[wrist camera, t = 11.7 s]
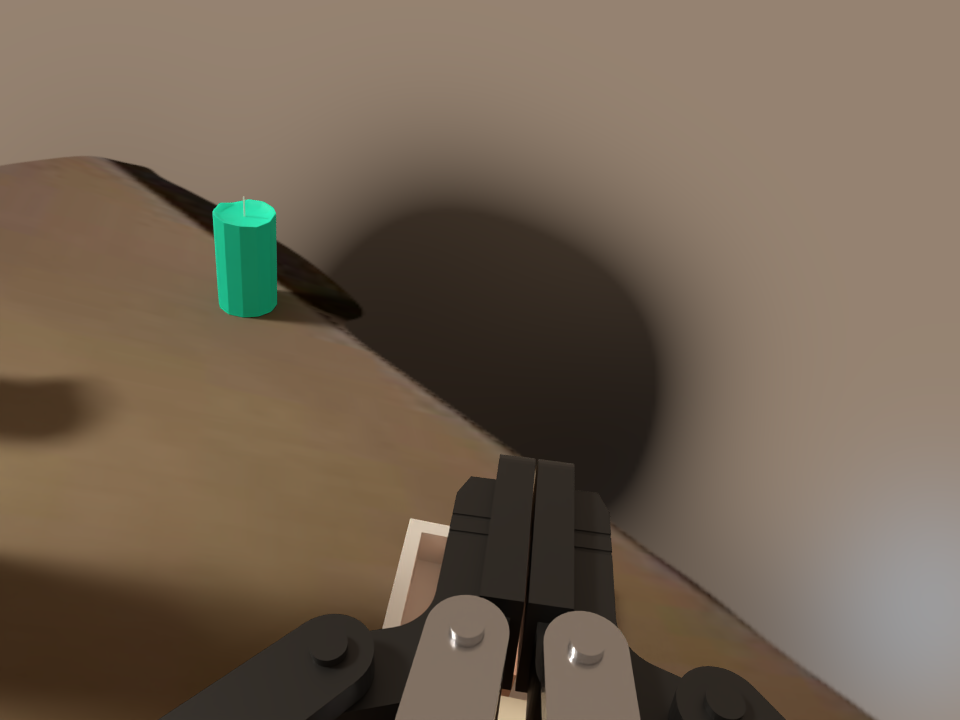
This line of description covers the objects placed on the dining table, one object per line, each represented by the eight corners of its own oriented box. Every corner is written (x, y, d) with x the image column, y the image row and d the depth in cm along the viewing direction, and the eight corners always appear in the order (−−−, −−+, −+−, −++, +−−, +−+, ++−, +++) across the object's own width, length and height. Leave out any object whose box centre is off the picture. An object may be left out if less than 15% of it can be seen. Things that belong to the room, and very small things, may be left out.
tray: (545, 749, 42) (561, 716, 39) (365, 714, 42) (369, 678, 39) (551, 583, 51) (563, 548, 49) (404, 554, 51) (410, 518, 49)
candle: (280, 289, 77) (279, 188, 70) (273, 319, 73) (271, 213, 66) (224, 285, 76) (217, 181, 69) (212, 315, 72) (204, 206, 65)
